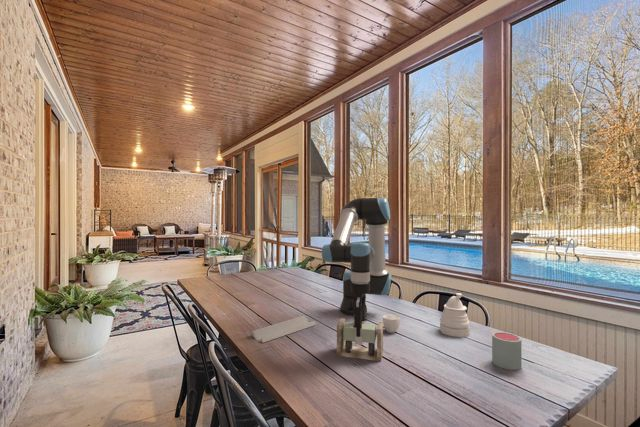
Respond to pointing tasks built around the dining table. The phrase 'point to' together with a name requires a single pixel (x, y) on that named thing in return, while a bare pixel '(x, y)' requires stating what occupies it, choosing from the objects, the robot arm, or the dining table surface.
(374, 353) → the frame
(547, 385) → the dining table surface
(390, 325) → the cup
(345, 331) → the pale green block
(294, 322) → the crown molding
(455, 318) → the honey pot
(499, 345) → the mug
